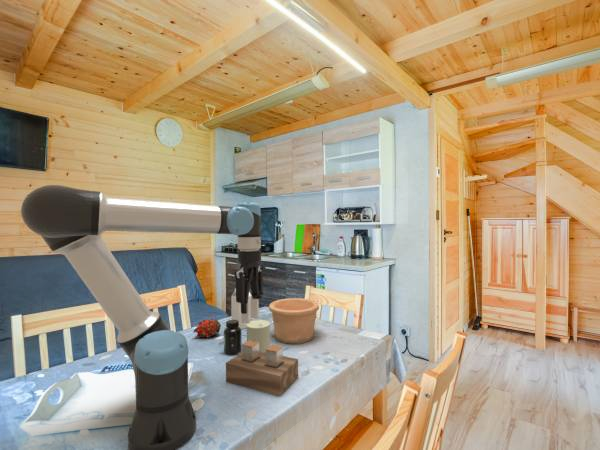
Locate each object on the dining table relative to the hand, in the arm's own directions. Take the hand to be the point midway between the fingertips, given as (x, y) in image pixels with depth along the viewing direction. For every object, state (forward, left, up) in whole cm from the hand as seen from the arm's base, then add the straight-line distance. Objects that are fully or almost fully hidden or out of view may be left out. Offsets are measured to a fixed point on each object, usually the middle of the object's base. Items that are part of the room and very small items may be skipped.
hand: (250, 320), depth 103 cm
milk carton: (+38, +32, -19) cm, 53 cm away
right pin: (0, -9, -14) cm, 16 cm away
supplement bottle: (+13, +18, -19) cm, 29 cm away
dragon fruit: (+21, +38, -19) cm, 47 cm away
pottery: (+37, +3, -19) cm, 42 cm away
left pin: (0, 0, -14) cm, 14 cm away
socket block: (0, -4, -19) cm, 19 cm away
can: (+16, +8, -19) cm, 26 cm away
